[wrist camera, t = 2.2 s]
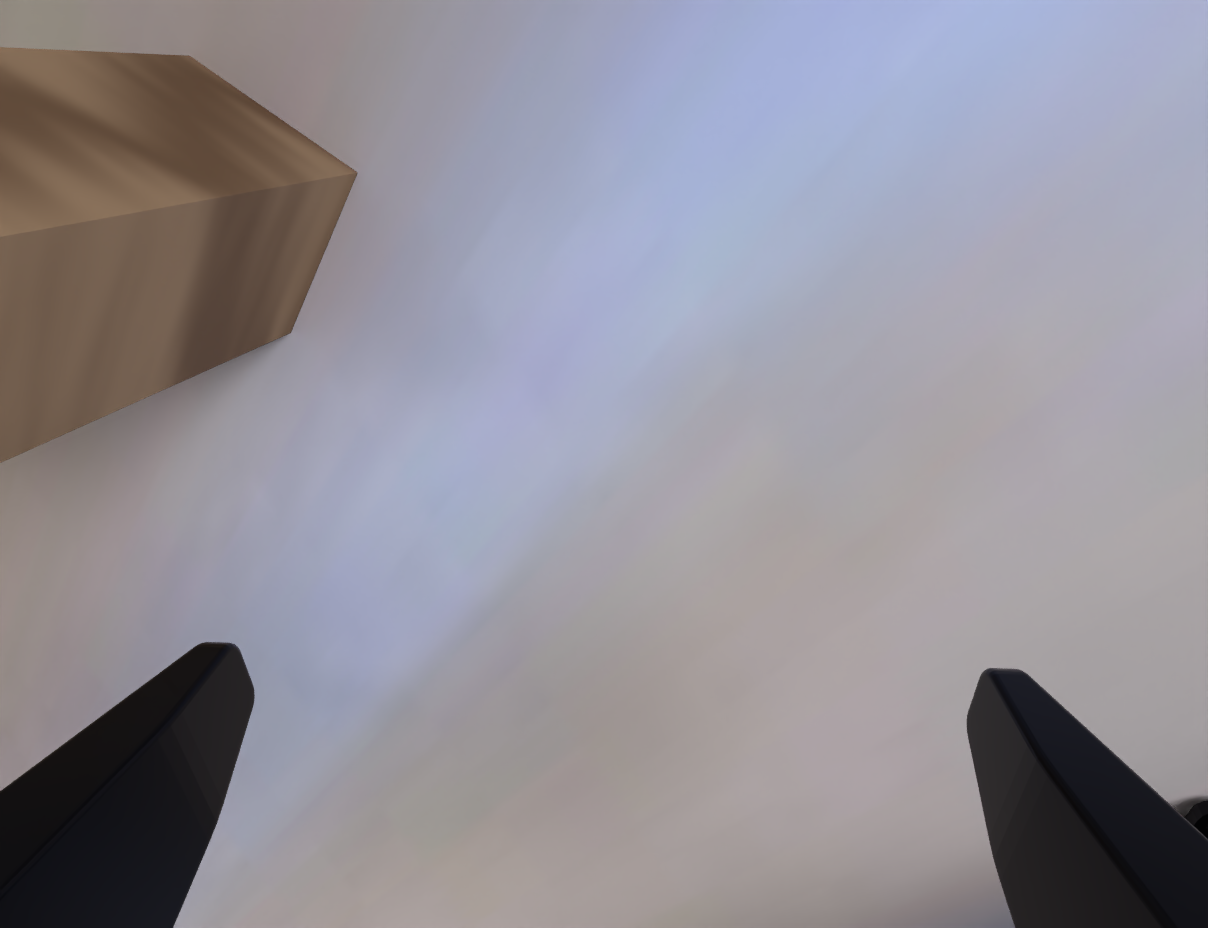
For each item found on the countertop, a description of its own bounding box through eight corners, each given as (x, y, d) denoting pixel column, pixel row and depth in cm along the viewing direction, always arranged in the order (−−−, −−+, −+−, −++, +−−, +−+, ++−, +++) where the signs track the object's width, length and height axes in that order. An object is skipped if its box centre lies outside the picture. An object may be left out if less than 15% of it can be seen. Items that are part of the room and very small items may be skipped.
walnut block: (357, 172, 21) (-38, 243, 11) (290, 332, 23) (-81, 499, 14) (189, 55, 21) (-347, 31, 11) (139, 228, 23) (-338, 326, 14)
